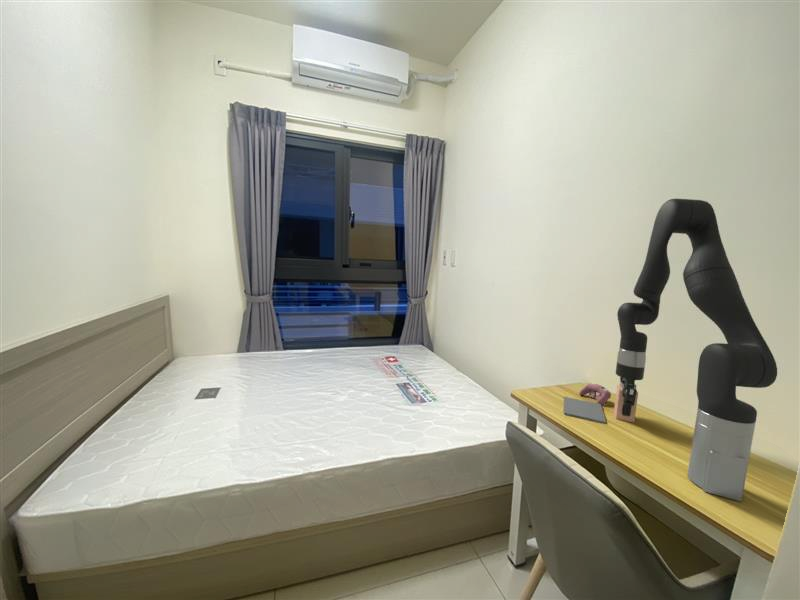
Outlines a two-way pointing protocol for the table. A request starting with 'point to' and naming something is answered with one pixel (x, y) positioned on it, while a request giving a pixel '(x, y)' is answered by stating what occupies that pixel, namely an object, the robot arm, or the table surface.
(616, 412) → the peach block
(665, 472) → the table surface
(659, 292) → the robot arm
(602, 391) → the video game controller
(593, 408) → the charcoal mat
